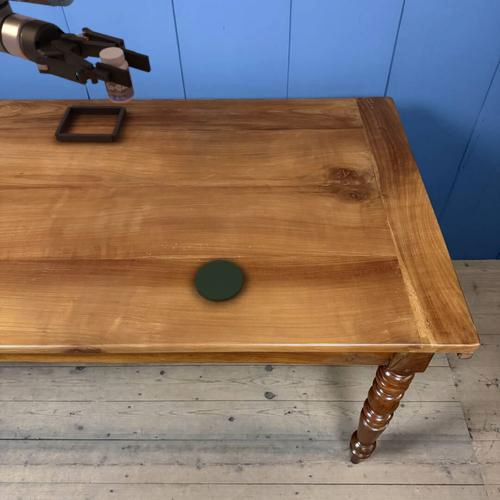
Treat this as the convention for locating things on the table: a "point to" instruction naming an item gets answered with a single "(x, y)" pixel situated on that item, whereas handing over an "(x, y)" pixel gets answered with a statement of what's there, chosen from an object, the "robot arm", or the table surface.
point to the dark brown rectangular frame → (90, 137)
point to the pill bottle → (117, 59)
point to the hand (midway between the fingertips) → (138, 71)
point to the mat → (219, 280)
